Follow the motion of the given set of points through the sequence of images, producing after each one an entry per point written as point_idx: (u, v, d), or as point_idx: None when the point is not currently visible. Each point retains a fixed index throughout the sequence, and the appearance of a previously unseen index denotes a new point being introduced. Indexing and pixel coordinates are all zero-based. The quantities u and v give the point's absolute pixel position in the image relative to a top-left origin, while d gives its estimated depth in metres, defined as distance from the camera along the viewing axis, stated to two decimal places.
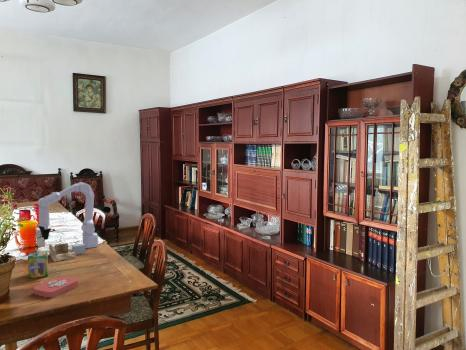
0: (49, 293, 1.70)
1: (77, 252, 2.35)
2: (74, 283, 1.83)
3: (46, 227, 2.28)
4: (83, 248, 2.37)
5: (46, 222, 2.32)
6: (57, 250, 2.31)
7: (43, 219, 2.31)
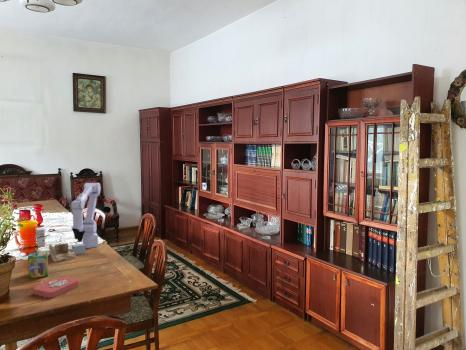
0: (50, 293, 1.70)
1: (77, 252, 2.35)
2: (75, 284, 1.82)
3: (81, 229, 2.30)
4: (83, 248, 2.37)
5: (80, 224, 2.34)
6: (57, 250, 2.31)
7: (77, 221, 2.33)
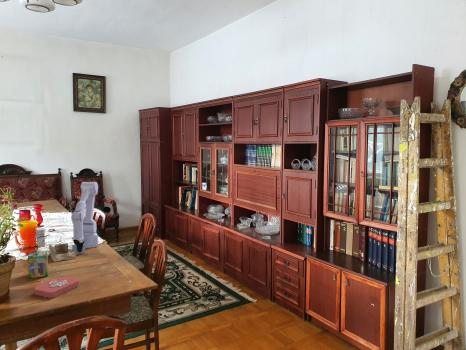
0: (50, 293, 1.70)
1: (77, 252, 2.35)
2: (75, 284, 1.82)
3: (81, 240, 2.30)
4: (83, 248, 2.37)
5: (80, 235, 2.34)
6: (57, 250, 2.31)
7: (78, 232, 2.33)
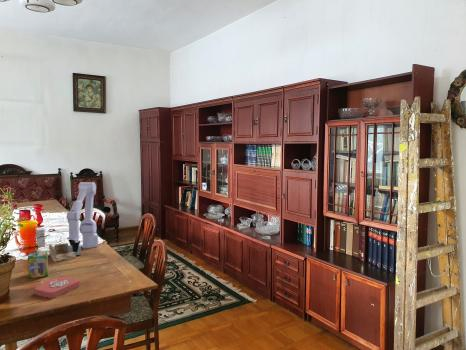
0: (51, 293, 1.70)
1: None
2: (76, 284, 1.82)
3: (77, 240, 2.26)
4: (79, 249, 2.32)
5: (76, 235, 2.30)
6: (57, 250, 2.31)
7: (73, 232, 2.29)
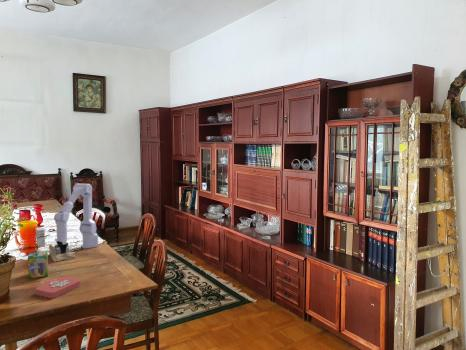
0: (51, 293, 1.70)
1: None
2: (76, 284, 1.82)
3: (64, 242, 2.22)
4: (67, 251, 2.28)
5: (64, 237, 2.26)
6: None
7: (61, 234, 2.25)
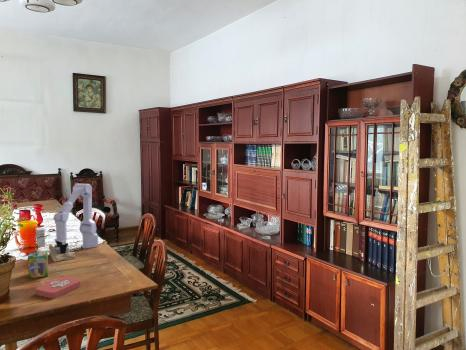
0: (52, 293, 1.70)
1: None
2: (77, 284, 1.82)
3: (64, 242, 2.22)
4: (66, 251, 2.28)
5: (63, 237, 2.26)
6: None
7: (60, 234, 2.25)
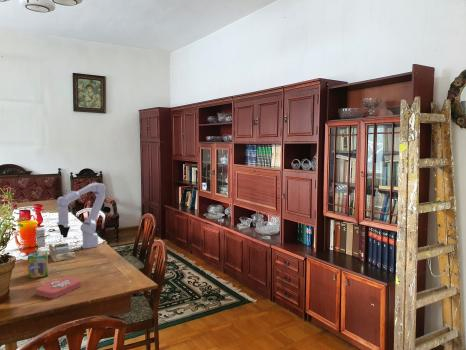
0: (52, 293, 1.70)
1: None
2: (77, 284, 1.82)
3: (66, 225, 2.32)
4: (66, 251, 2.28)
5: (65, 220, 2.36)
6: None
7: (62, 217, 2.35)
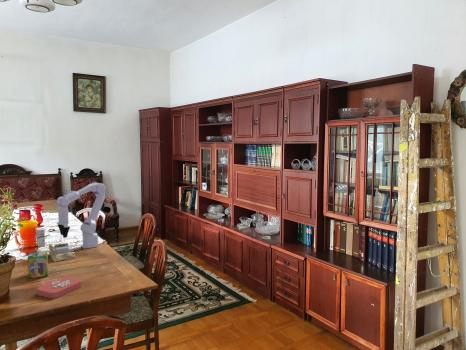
0: (53, 293, 1.69)
1: None
2: (78, 284, 1.82)
3: (66, 225, 2.32)
4: (66, 251, 2.28)
5: (65, 220, 2.36)
6: None
7: (62, 217, 2.35)
